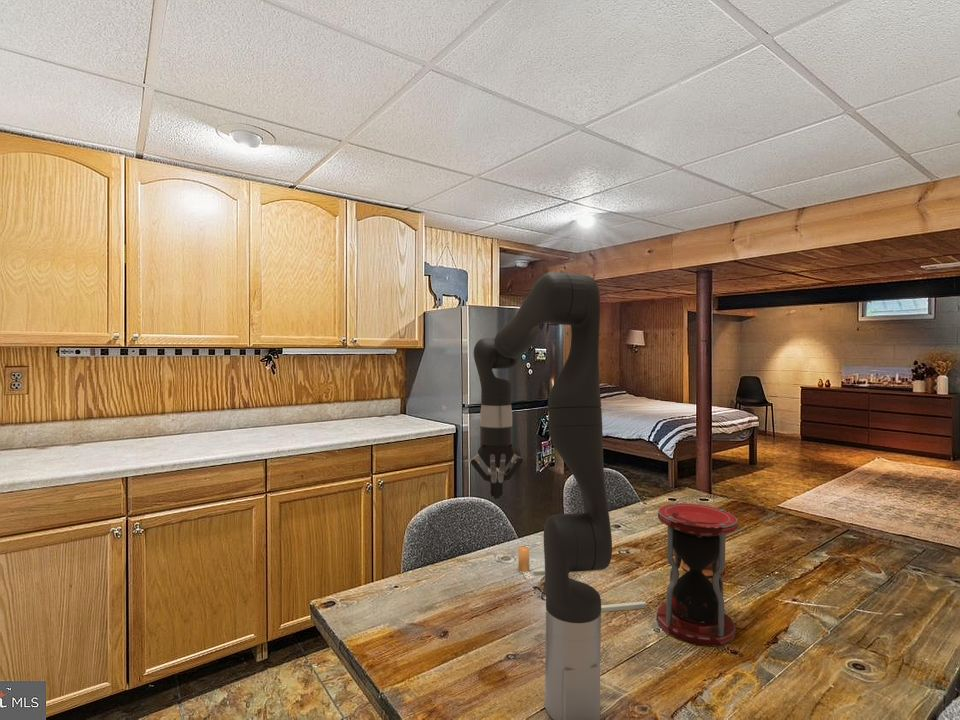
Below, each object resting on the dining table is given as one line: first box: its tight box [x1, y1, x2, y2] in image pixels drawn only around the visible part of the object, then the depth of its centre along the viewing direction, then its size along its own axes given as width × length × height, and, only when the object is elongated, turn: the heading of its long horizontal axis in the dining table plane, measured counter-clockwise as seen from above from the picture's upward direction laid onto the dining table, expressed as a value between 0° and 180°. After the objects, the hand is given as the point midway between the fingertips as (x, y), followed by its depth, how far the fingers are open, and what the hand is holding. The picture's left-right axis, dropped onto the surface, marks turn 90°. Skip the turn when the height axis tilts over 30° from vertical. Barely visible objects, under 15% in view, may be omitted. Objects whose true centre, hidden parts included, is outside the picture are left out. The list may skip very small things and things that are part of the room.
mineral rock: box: [537, 575, 546, 595], centre depth 130 cm, size 11×4×8 cm
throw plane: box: [517, 546, 647, 614], centre depth 130 cm, size 30×24×6 cm
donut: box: [680, 559, 713, 577], centre depth 142 cm, size 10×10×4 cm
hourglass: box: [655, 502, 738, 647], centre depth 113 cm, size 16×16×25 cm
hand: (496, 497), depth 120 cm, fingers closed
